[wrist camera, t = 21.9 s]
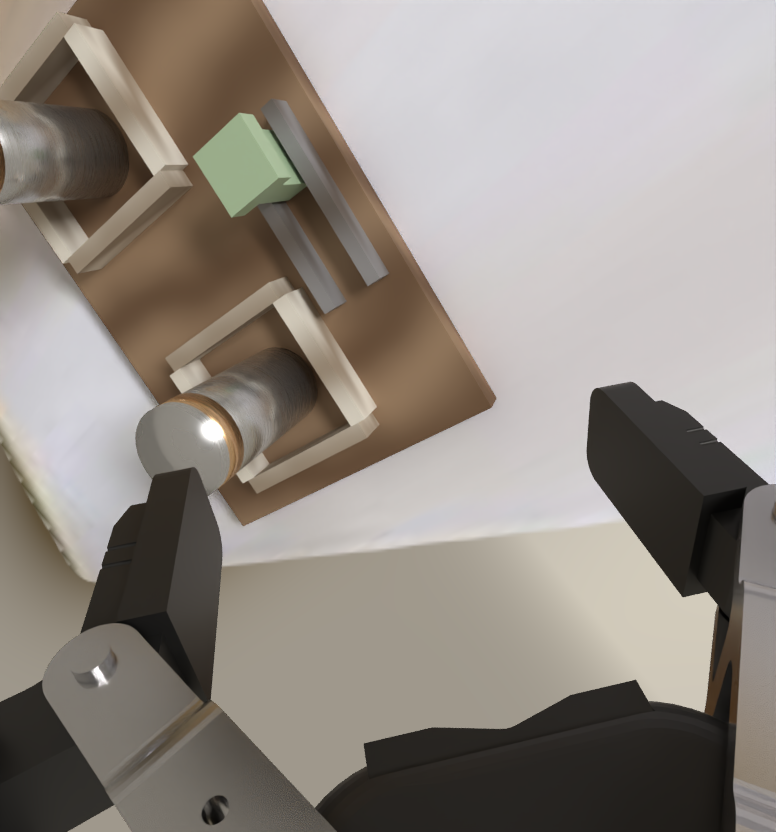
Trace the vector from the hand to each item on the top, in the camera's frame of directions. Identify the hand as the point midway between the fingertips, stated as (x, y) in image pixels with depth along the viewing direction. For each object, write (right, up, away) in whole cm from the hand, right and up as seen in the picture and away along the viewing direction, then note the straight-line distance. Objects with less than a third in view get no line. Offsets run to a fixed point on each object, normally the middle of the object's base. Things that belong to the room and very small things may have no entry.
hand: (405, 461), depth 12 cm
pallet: (-10, +10, +25) cm, 29 cm away
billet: (-7, +3, +25) cm, 26 cm away
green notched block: (-6, +14, +20) cm, 25 cm away
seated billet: (-17, +16, +24) cm, 33 cm away
